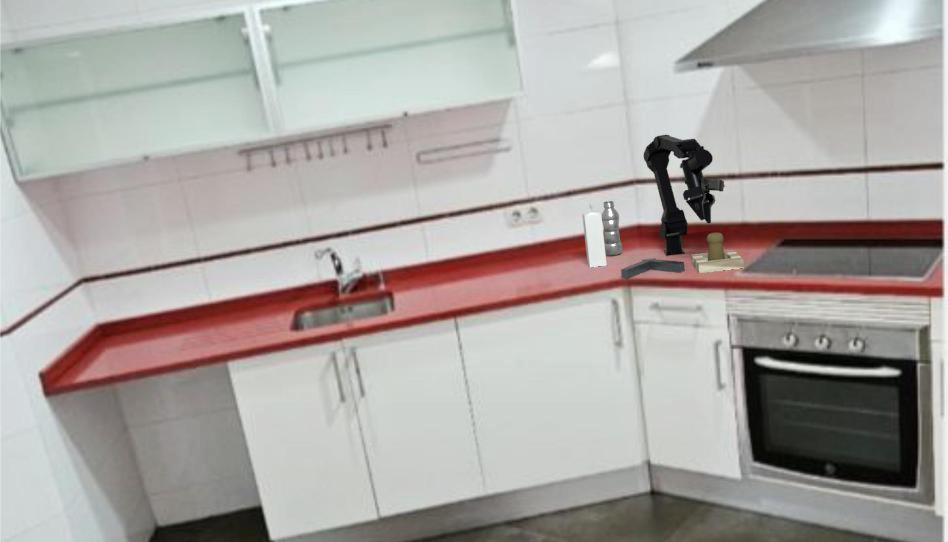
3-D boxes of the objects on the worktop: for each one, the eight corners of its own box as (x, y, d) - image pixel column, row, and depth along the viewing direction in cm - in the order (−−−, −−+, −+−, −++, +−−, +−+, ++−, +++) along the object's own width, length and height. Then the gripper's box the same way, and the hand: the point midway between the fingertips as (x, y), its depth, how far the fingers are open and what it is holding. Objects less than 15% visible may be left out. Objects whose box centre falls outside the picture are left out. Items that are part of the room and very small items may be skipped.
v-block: (619, 270, 278) (618, 262, 277) (679, 263, 275) (679, 255, 275) (622, 279, 267) (621, 270, 266) (685, 272, 264) (684, 263, 264)
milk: (590, 268, 287) (582, 207, 282) (587, 264, 293) (580, 204, 288) (607, 265, 287) (600, 204, 282) (604, 262, 293) (597, 202, 288)
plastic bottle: (609, 252, 306) (604, 200, 302) (625, 252, 302) (620, 200, 298) (601, 256, 301) (596, 204, 297) (618, 257, 297) (612, 203, 293)
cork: (724, 262, 269) (722, 230, 266) (728, 266, 263) (726, 233, 261) (706, 264, 270) (703, 232, 267) (709, 269, 264) (707, 236, 261)
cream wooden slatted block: (691, 263, 274) (691, 254, 273) (734, 258, 272) (733, 249, 272) (699, 273, 260) (698, 264, 260) (744, 268, 259) (743, 259, 258)
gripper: (711, 163, 254) (724, 210, 251) (724, 173, 270) (736, 217, 267) (677, 174, 259) (689, 221, 256) (691, 183, 275) (703, 227, 272)
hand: (706, 221), depth 263 cm, fingers open, 9 cm apart
